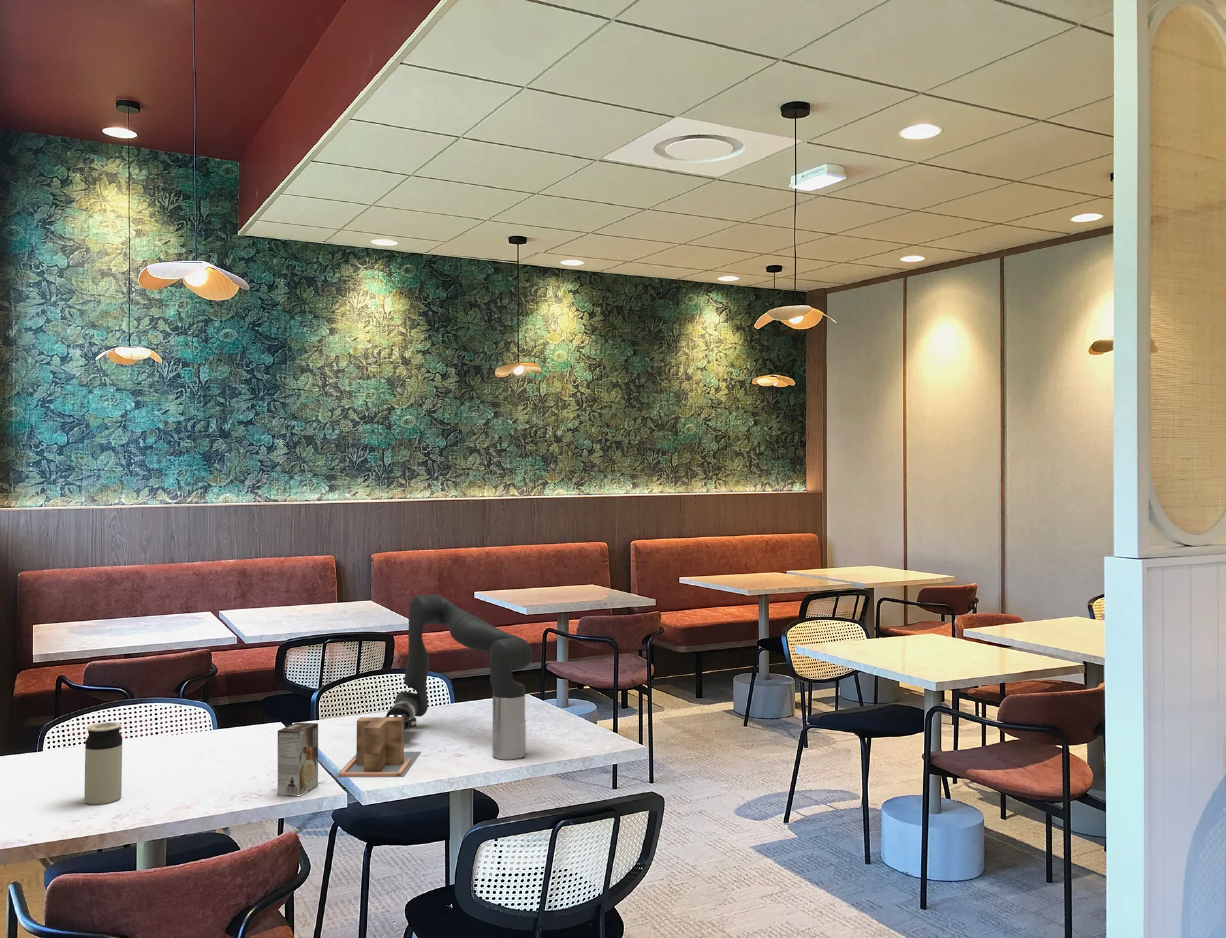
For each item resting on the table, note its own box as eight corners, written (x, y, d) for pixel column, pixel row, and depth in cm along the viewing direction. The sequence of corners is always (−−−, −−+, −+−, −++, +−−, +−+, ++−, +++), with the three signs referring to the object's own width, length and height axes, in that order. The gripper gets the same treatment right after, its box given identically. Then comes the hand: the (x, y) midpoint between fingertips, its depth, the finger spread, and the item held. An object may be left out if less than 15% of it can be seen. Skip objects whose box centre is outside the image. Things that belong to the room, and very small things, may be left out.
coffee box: (295, 784, 246) (296, 721, 247) (318, 786, 245) (319, 722, 246) (276, 795, 237) (277, 730, 238) (299, 797, 236) (300, 731, 237)
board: (421, 755, 275) (421, 748, 275) (404, 780, 250) (404, 773, 250) (358, 755, 274) (358, 748, 274) (334, 781, 249) (334, 774, 250)
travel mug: (127, 794, 238) (128, 721, 238) (111, 805, 230) (112, 729, 230) (94, 795, 237) (95, 721, 238) (77, 805, 230) (79, 729, 230)
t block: (403, 761, 265) (404, 717, 265) (394, 773, 253) (394, 727, 253) (360, 761, 265) (360, 717, 265) (348, 773, 253) (349, 727, 253)
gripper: (379, 703, 291) (365, 716, 274) (423, 703, 291) (412, 716, 274) (379, 728, 291) (365, 743, 274) (422, 728, 291) (412, 742, 274)
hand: (389, 729), depth 274 cm, fingers closed
